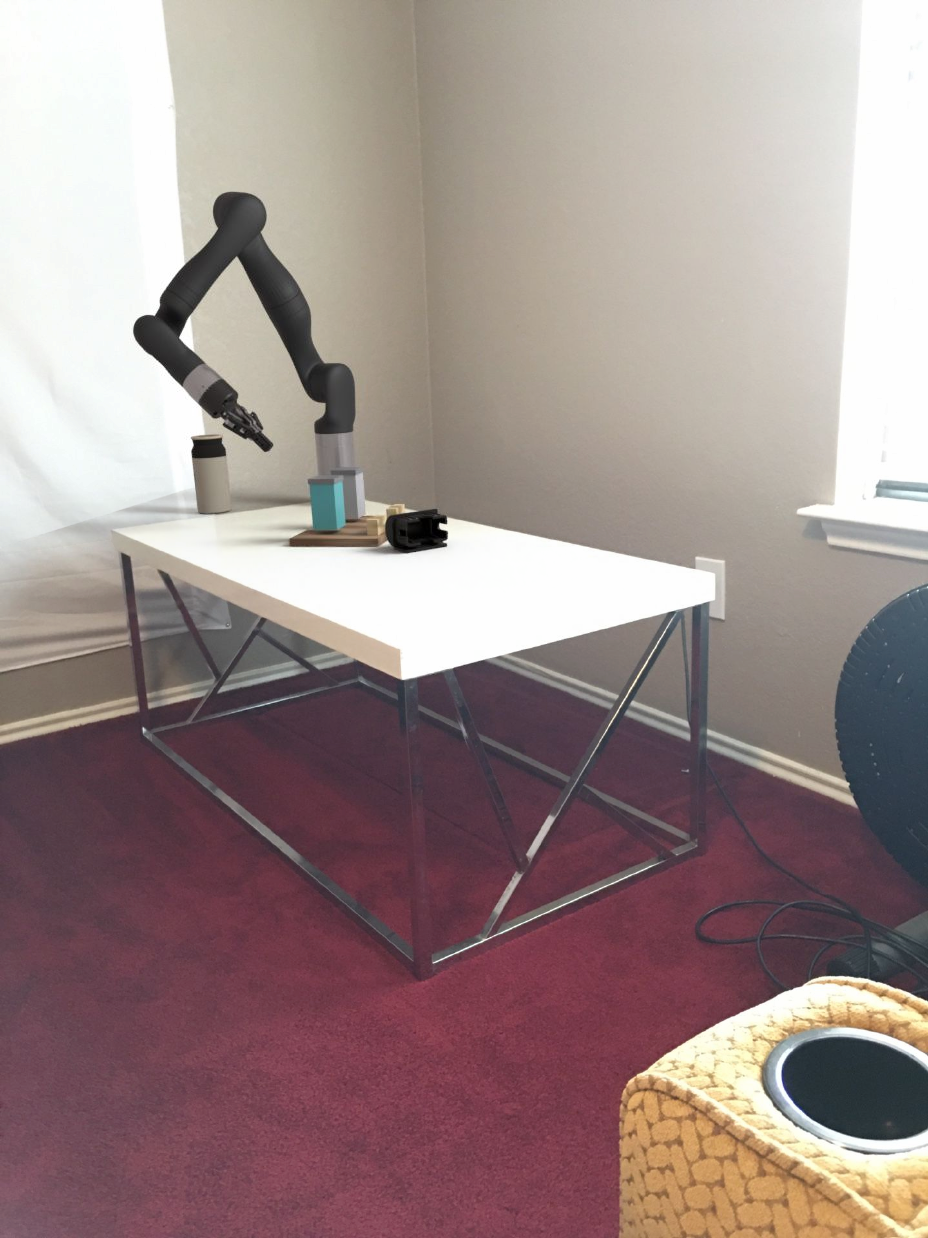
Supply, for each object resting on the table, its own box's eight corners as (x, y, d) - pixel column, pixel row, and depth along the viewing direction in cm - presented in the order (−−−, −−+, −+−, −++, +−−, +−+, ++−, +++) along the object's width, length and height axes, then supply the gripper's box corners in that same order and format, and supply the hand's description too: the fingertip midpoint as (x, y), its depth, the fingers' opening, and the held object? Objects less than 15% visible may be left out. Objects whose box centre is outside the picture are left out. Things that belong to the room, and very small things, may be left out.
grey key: (342, 514, 221) (339, 467, 218) (366, 513, 220) (363, 466, 217) (334, 518, 216) (330, 470, 213) (358, 518, 215) (355, 469, 212)
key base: (335, 522, 226) (333, 502, 225) (414, 522, 222) (413, 501, 221) (289, 546, 201) (287, 523, 200) (378, 546, 197) (376, 523, 196)
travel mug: (237, 508, 251) (229, 433, 247) (222, 514, 244) (214, 437, 239) (207, 508, 253) (199, 434, 248) (192, 514, 246) (183, 437, 241)
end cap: (430, 541, 201) (428, 506, 199) (450, 546, 195) (448, 510, 193) (385, 548, 195) (383, 513, 194) (404, 554, 190) (402, 517, 188)
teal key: (321, 524, 209) (317, 475, 206) (346, 524, 207) (343, 474, 205) (311, 529, 204) (307, 479, 201) (337, 529, 202) (333, 478, 200)
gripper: (206, 378, 210) (268, 438, 210) (234, 376, 222) (292, 432, 223) (185, 406, 212) (246, 465, 213) (214, 402, 225) (271, 458, 225)
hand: (269, 448), depth 218 cm, fingers closed
